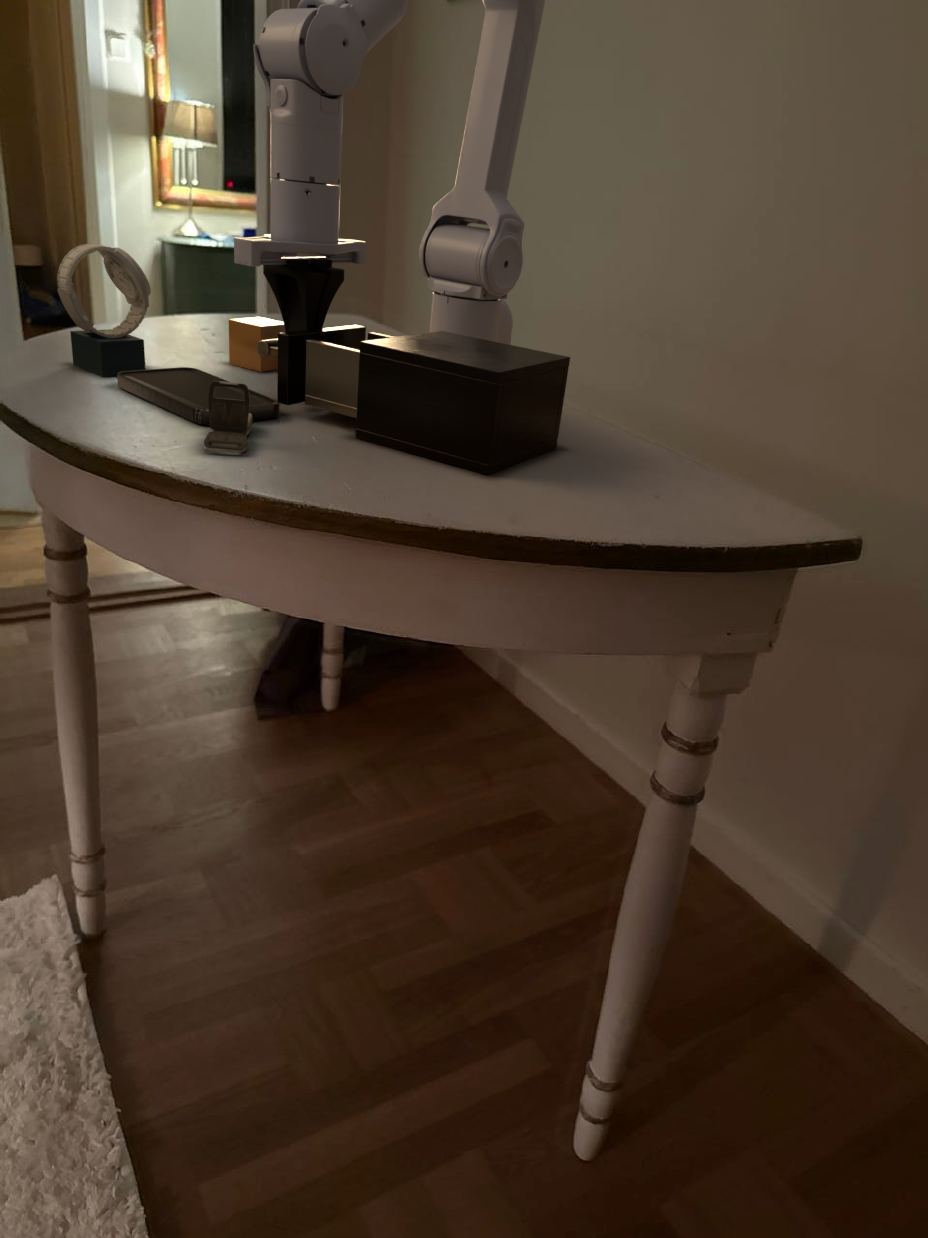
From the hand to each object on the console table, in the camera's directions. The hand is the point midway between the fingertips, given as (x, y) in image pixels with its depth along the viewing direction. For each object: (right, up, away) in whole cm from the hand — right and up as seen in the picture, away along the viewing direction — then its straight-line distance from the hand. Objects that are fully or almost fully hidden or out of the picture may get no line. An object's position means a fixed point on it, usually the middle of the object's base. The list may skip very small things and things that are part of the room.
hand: (302, 350), depth 79 cm
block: (-7, +3, +14) cm, 16 cm away
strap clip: (-4, -10, -11) cm, 16 cm away
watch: (-20, 0, +6) cm, 20 cm away
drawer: (+4, -5, -1) cm, 6 cm away
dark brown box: (+14, -9, -6) cm, 18 cm away
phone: (-9, -5, -2) cm, 10 cm away
